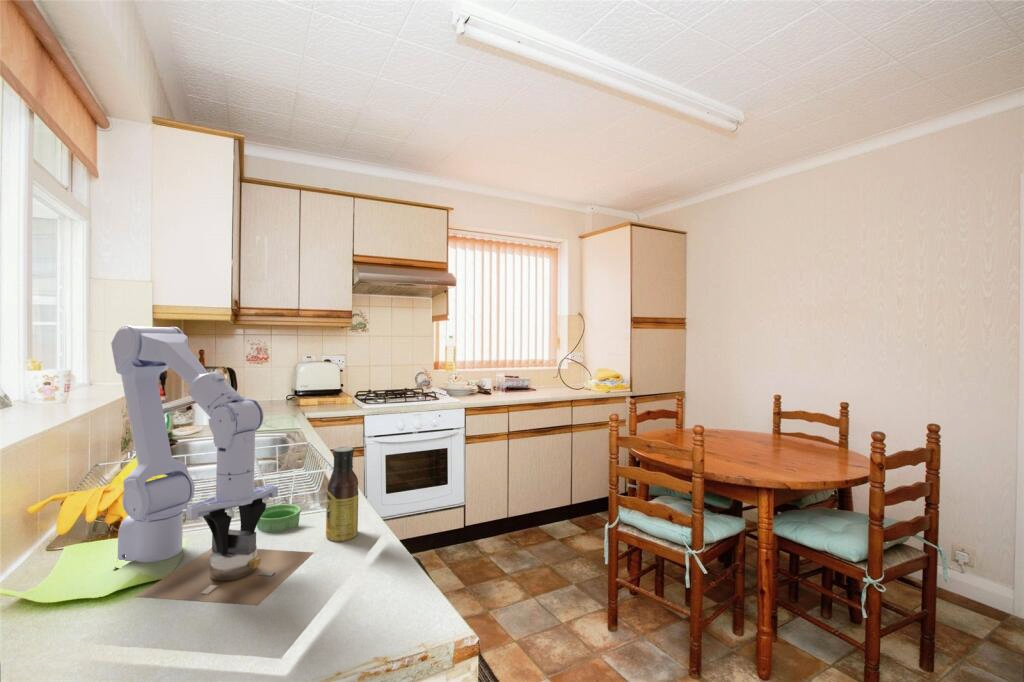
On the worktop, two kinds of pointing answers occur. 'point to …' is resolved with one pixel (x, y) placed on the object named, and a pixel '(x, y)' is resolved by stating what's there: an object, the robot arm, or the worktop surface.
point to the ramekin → (279, 518)
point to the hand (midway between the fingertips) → (234, 548)
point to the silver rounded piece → (235, 556)
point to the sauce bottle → (342, 497)
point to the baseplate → (247, 590)
